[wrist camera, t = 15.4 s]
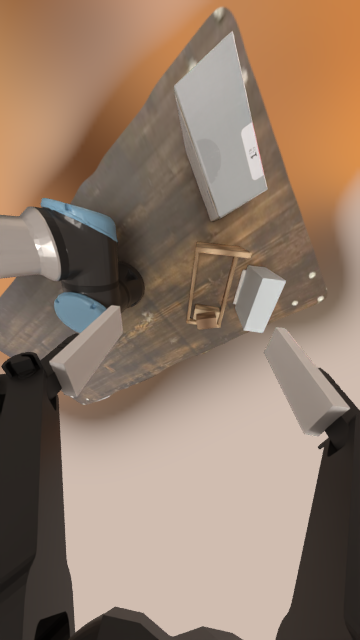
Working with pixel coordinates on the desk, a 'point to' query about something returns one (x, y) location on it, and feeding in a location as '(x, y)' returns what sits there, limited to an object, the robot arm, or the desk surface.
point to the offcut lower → (206, 310)
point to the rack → (235, 252)
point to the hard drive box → (220, 131)
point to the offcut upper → (206, 320)
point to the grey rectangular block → (258, 297)
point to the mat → (239, 286)
